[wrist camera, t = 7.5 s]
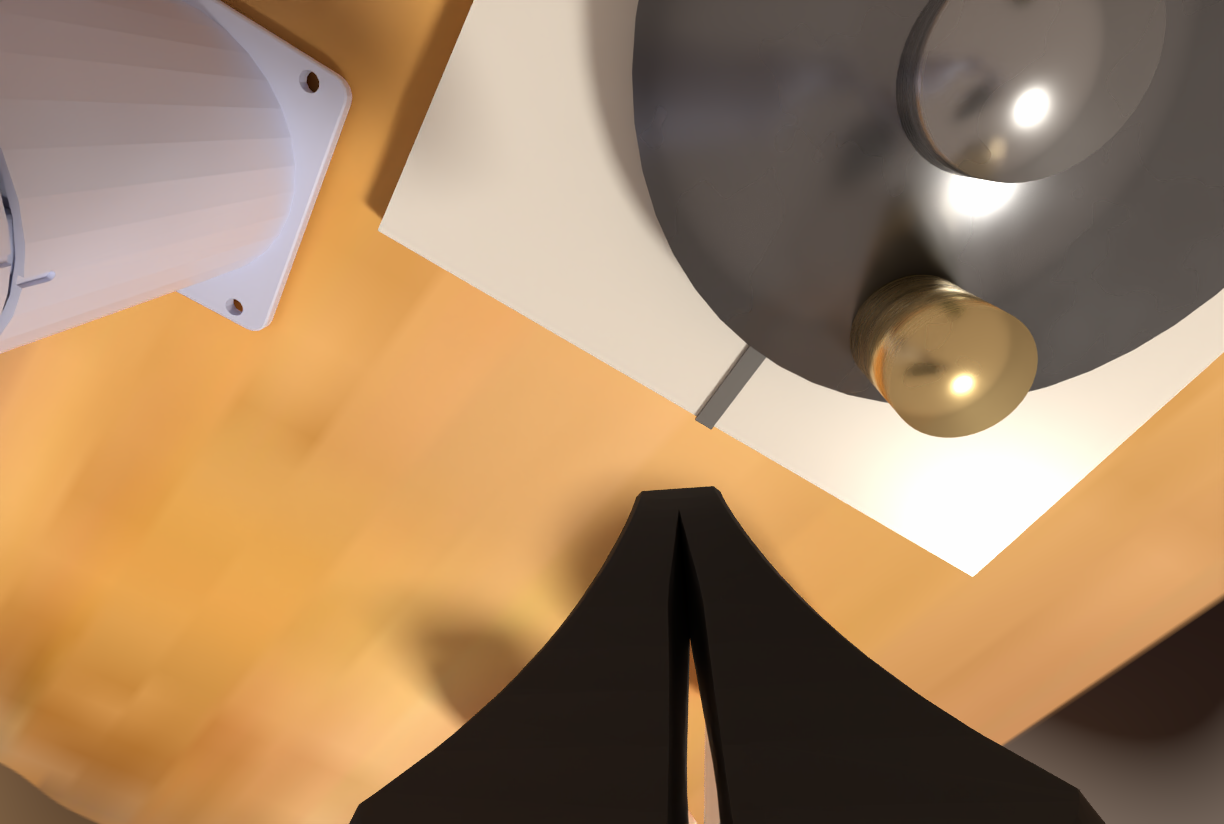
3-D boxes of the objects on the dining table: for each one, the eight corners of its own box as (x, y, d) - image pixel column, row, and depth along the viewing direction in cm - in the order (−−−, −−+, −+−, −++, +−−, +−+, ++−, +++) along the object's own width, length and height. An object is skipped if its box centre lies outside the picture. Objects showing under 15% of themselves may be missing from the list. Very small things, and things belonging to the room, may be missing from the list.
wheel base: (384, 227, 18) (367, 234, 17) (919, -1045, 10) (954, -1197, 8) (960, 563, 22) (976, 586, 21) (1712, -126, 13) (1805, -147, 12)
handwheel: (1144, 424, 18) (1276, 504, 14) (596, 347, 18) (582, 407, 14) (1583, -367, 11) (2066, -620, 7) (701, -496, 11) (727, -818, 7)
